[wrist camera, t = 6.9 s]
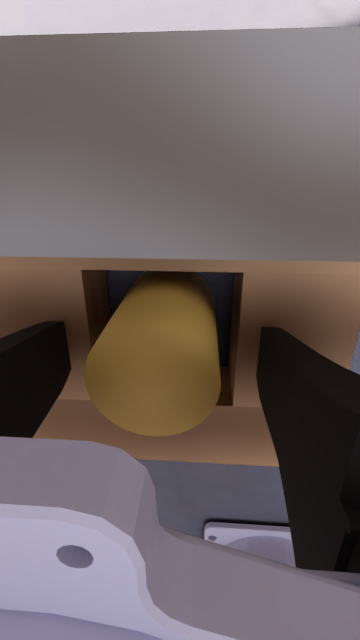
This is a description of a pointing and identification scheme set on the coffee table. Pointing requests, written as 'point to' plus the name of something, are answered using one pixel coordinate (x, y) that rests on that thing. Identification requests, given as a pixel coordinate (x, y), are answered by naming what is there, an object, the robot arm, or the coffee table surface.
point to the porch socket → (183, 201)
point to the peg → (158, 356)
